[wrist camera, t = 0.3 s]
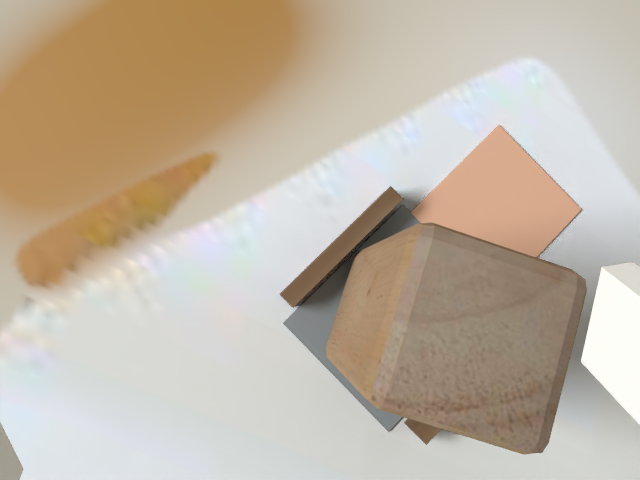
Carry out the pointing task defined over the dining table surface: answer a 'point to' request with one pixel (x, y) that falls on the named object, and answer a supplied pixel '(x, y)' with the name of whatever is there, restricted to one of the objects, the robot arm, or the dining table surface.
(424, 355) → the wooden block
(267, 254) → the dining table surface
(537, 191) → the tile
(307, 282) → the lane rails
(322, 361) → the grey square panel
